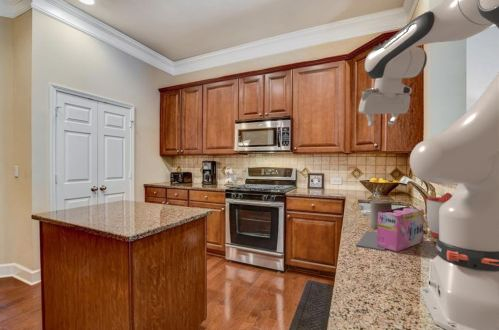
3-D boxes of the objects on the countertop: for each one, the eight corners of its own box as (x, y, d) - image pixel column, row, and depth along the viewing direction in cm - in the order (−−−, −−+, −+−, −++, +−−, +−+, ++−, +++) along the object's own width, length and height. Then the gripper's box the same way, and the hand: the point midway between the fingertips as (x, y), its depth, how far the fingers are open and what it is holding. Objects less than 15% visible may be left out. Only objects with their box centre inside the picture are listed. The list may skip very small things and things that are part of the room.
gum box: (404, 236, 108) (406, 206, 108) (425, 241, 102) (426, 209, 101) (375, 245, 95) (377, 211, 95) (397, 252, 89) (398, 215, 88)
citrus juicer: (482, 240, 103) (482, 193, 103) (458, 245, 96) (457, 195, 96) (442, 230, 117) (441, 189, 117) (418, 235, 111) (418, 191, 111)
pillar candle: (396, 229, 120) (396, 199, 121) (381, 231, 117) (381, 200, 117) (380, 225, 130) (379, 197, 130) (366, 227, 126) (365, 198, 127)
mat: (384, 251, 91) (384, 249, 91) (356, 246, 97) (356, 244, 97) (391, 235, 110) (391, 234, 110) (367, 232, 116) (367, 231, 116)
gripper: (369, 88, 86) (363, 127, 90) (415, 89, 91) (408, 126, 95) (357, 88, 92) (352, 124, 96) (401, 89, 97) (395, 124, 100)
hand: (380, 125), depth 95 cm, fingers open, 8 cm apart
